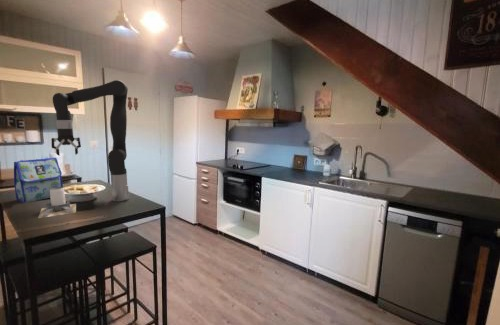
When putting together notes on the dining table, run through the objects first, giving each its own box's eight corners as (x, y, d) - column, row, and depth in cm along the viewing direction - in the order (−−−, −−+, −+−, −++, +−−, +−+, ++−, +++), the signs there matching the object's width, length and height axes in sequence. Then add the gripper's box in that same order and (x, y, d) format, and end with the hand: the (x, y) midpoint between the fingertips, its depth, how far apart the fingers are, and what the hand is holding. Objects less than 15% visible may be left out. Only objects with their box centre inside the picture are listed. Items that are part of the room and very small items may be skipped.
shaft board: (76, 206, 153) (75, 203, 153) (76, 215, 138) (75, 212, 138) (42, 210, 144) (41, 208, 144) (38, 221, 129) (37, 218, 129)
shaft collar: (72, 204, 151) (71, 199, 151) (71, 212, 138) (71, 207, 137) (45, 207, 145) (45, 202, 144) (42, 217, 131) (42, 211, 130)
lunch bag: (24, 205, 154) (19, 162, 150) (14, 200, 162) (9, 160, 158) (66, 196, 172) (62, 158, 168) (55, 192, 181) (51, 156, 177)
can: (54, 207, 146) (51, 186, 144) (67, 206, 148) (65, 186, 146) (49, 211, 140) (47, 189, 138) (64, 209, 142) (61, 188, 140)
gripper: (79, 127, 159) (81, 153, 161) (50, 127, 151) (53, 155, 153) (79, 128, 153) (81, 154, 155) (49, 128, 145) (52, 156, 147)
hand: (67, 154), depth 154 cm, fingers open, 8 cm apart
